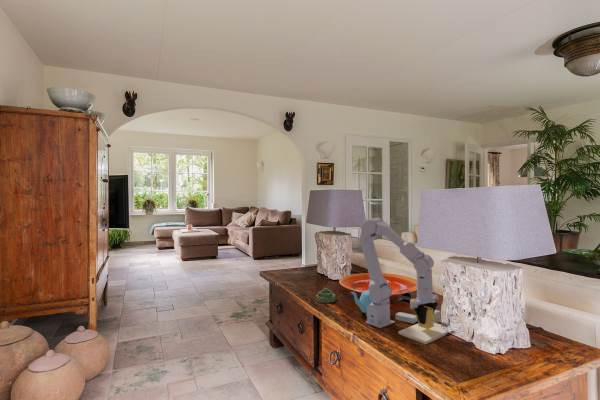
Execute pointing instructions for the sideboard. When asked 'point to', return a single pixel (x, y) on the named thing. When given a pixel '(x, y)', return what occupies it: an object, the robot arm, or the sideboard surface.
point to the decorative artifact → (325, 296)
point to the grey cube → (437, 316)
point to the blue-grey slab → (406, 317)
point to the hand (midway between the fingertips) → (425, 322)
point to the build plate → (406, 298)
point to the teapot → (363, 300)
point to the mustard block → (428, 319)
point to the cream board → (423, 333)
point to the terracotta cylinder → (410, 304)
